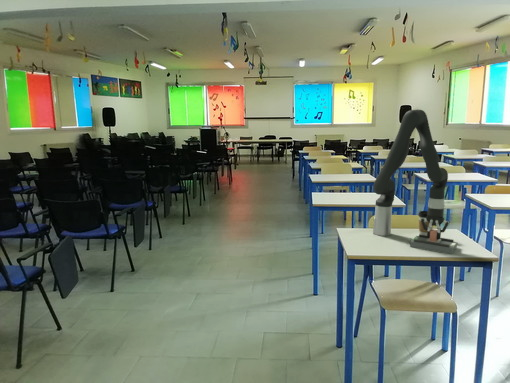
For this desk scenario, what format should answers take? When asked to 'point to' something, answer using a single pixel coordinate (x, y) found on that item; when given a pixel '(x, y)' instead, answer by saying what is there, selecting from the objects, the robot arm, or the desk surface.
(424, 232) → the coffee cup
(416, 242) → the switch box
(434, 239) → the handle
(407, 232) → the desk surface
